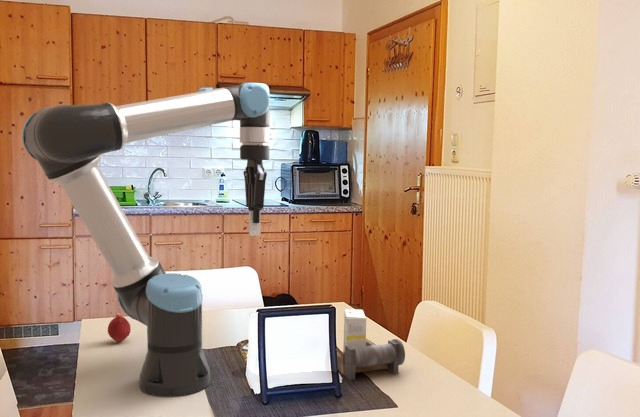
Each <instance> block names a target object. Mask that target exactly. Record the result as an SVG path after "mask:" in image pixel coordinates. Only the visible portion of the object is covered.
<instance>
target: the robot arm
mask: <svg viewBox="0 0 640 417" xmlns="http://www.w3.org/2000/svg"><path fill="white" fill-rule="evenodd" d="M270 104H271V97H270V88H269V85H267V84H266V83H260V82H243V83H241V84H238V85H231V86H227V87H220V88H219V87H218V88H217V87H213V86H211V87H201V88H199V89H198V90H197V91H196V92H191V93H186V94H180V95H174V96H167V97H163V98H156V99H150V100H146V101H145V100H144V101H140V102H133V103H127V104H122V105H114V104H113V103H111V102H103V103H96V104H95V103H94V104H61V105H56V106H47V107H44V108H42V109H39V110H38V111H35V112H34V113H33V114H32V115H30V116H29V117H28V119H26V121H25V123H24V125H23V128H22V132H21V139H22V144H23V147H24V149H25V151H26V152H27V154H29V156H31V158H32V159H34V160H35V161H37V162H38V164H39V166H40V167H41V169H42V171H43V172H44V174H45V175H46V178H47V179H48V180H49V181H50V182H54V183H58V184H59V185H60V186H61V187H62V189H63V191H64V193H65V195H66V196H67V198H68V200H69V201H70V203H71V205H72V206H73V207H74V210H75V211H76V213H77V215H78V216H79V217H80V220H81V221H82V224H83V225H84V226H85V228H86V230H87V231H88V233H89V235H90V236H91V239H92V240H93V242H94V243H95V245H96V247H97V248H98V250H99V252H100V253H101V255H102V257H103V258H104V260H105V261H106V263H107V265H108V267H109V269H110V270H111V271H112V273H113V277H112V280H111V286H112V287H113V289H114V291H115V293H116V294H117V302H118V305H119V306H120V307H121V309H122V311H123V312H124V314H126V315H127V316H128V317H130V318H131V319H133V320H135V321H138V322H139V323H141V324H142V325H145V326H146V327H147V328H146V331H147V332H146V333H147V334H146V335H147V352H146V353H145V354H146V355H145V358H144V361H143V365H142V368H141V371H140V373H139V388H140V390H141V391H142V392H144V393H146V394H148V395H152V396H155V397H180V396H184V395H185V396H186V395H190V394H194V393H198V392H200V391H202V390H204V389H205V388H207V387H209V385H210V384H209V383H211V370H210V366H209V365H208V364H209V363H208V361H207V358H206V354H205V352H204V349H203V296H204V295H203V292H202V285H201V283H200V281H199V280H198V279H197V278H195V277H193V276H191V275H189V274H188V275H187V274H181V273H174V272H173V273H166V271H165V270H164V267H163V265H162V264H161V262H160V261H159V259H158V258H157V257H154V256H149V255H148V253H147V251H146V248H144V246H143V244H142V242H141V241H140V238H139V237H138V235H137V232H136V231H135V230H134V228H133V226H132V224H131V223H130V220H129V219H128V217H127V216H126V213H125V211H124V210H123V208H122V207H121V204H120V203H119V201H118V199H117V197H116V196H115V194H114V192H113V190H112V188H111V186H110V185H109V184H108V182H107V180H106V178H105V176H104V175H103V173H102V171H101V169H100V168H99V162H100V159H101V155H104V154H106V153H107V154H109V153H112V152H116V151H120V150H122V149H123V147H124V145H125V144H129V143H133V142H138V141H142V140H147V139H152V138H156V137H157V138H158V137H160V136H166V135H169V134H170V135H171V134H175V133H179V132H184V131H189V130H193V129H198V128H203V127H208V126H212V125H213V126H214V125H217V124H221V123H226V122H231V121H232V122H233V121H239V143H240V144H241V145H240V147H239V158H240V159H241V160H244V161H245V160H247V161H246V162H247V163H246V166H245V169H244V171H243V178H244V193H245V205H246V207H247V209H248V236H250V237H255V236H256V237H257V236H261V235H262V234H261V231H262V230H261V226H262V225H261V219H262V218H261V216H262V214H261V211H262V209H263V210H264V206H265V205H264V204H265V193H266V192H265V191H266V181H267V175H268V174H267V172H266V171H265V167H264V162H263V160H264V161H266V160H267V161H268V160H269V159H270V146H269V145H268V144H269V143H270V136H271V135H272V132H271V131H270Z"/></svg>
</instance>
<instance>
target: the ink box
mask: <svg viewBox="0 0 640 417" xmlns="http://www.w3.org/2000/svg"><path fill="white" fill-rule="evenodd" d="M343 319H344V322H343V344H342V345H343V347H342V348H343V351H342V352H344V351H345V346H348V345H350V346H352V347H353V348H356V347H364V346H366V339H367V333H366V332H367V317H366V315H365V311H364V310H363V309H352V308H351V309H350V308H345V309H344V318H343Z"/></svg>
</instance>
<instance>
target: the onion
mask: <svg viewBox="0 0 640 417" xmlns="http://www.w3.org/2000/svg"><path fill="white" fill-rule="evenodd" d="M130 333H131V323H130V322H129V321H128V320H127V318H125V317H124V316H123V315H121V313H119V312H117V313H116V316H115V317H113V318H112V319H111V320H110V321H109V323H108V327H107V335H109V337H110V338H111V339H112V340H113V341H115V342H116V343H117V344H120V343H122V342H123V341H124V340H126V339H127V338H128V337H129V336H130Z"/></svg>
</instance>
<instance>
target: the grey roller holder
mask: <svg viewBox="0 0 640 417" xmlns="http://www.w3.org/2000/svg"><path fill="white" fill-rule="evenodd" d="M336 351H337V350H336ZM337 357H338V366H339V371H338V372H340V374H342V375H344V377H345V378H347V379H349V381H353V380H356V373H357V374H358V373H363V372H370V371H377V370H385V369H387V371H389V372H390V373H392V374H395V375H396V374H399V366H401V365H403V364H404V363H405V360H406V351H405V347H404V344H403V342H402V341H401V340H400V339H399V338H394V339H391V340H387V343H381V344H377V343H374V342H373V341H371V340H369V339H368V338H366V346H364V347H356V348H353V347H352V346H350V345H348V346H345V351H344V352H343V351H341V352H339V351H337Z"/></svg>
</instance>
